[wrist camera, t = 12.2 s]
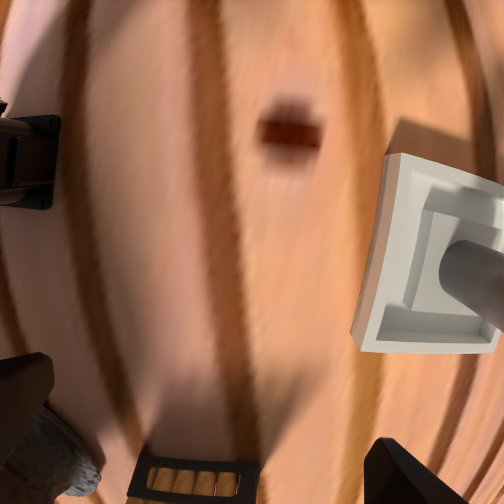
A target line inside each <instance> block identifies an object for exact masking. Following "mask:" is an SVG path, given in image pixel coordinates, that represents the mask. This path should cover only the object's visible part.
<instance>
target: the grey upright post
mask: <svg viewBox="0 0 504 504" xmlns="http://www.w3.org/2000/svg"><path fill="white" fill-rule="evenodd" d="M501 231H502V229H498V228H495V227H491V226H487V225H484V224H480V223H476V222H473V221H469V220H465V219H461V218H457V217H453V216H449V215H445V214H441V213H437V212H433V211H428V210H423V209H422V213H421V219H420V225H419V230H418V235H417V240H416V245H415V250H414V255H413V259H412V264H411V268H410V272H409V276H408V280H407V284H406V288H405V292H404V296H403V300H402V303H403V304H404V305H406V306H407V307H408V308H409V309H410V310H411V311H420V312H432V313H445V314H459V315H473V316H481V317H482V318H484V319H485V320H486V321H488V322H489V323H491V324H492V325H494V326H495V327H496V328H498V329H499V330H500V331H502V332H503V333H504V253H502V252H499V251H498V247H499V242H500V237H501Z"/></svg>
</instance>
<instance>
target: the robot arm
mask: <svg viewBox="0 0 504 504" xmlns="http://www.w3.org/2000/svg"><path fill="white" fill-rule="evenodd" d="M0 98H1V97H0ZM7 104H8V103H6V102H4V101H2V100H0V205H1V206H10V207H19V208H28V209H37V210H48V209H50V208H51V206H52V200H53V185H54V178H55V167H56V158H57V149H58V139H59V132H60V125H61V118H60V117H59V116H57V115H42V116H30V117H20V118H11V119H7V118H1V115H2V112H5V109H6V107H7ZM54 120H55V123H54V125H53V121H54ZM45 200H46V206H45V204H44V201H45ZM54 382H55V379H54V371H53V362H52V359H51V357H49V356H48V355H45V354H43V353H41V352H36V353H31V354H26V355H22V356H17V357H12V358H8V359H3V360H0V469H1V467H2V466H3V464H4V463H5V461H6V460H7V459H8V457H9V456H10V454H11V453H12V451H13V450H14V449H15V447H16V446H17V444H18V443H19V441H20V440H21V439H22V437H23V436H24V434H25V433H26V432H27V430H28V429H29V427H30V426H31V425H32V423H33V421H34V420H35V418H36V416H37V414H38V413H39V411H40V409H41V407H42V406H43V404H44V402H45V400H46V399H47V397H48V395H49V394H50V392H51V390H52V388H53V386H54ZM364 504H469V503H468V502H467V501H465V500H464V499H463V498H462V497H461V496H459V495H458V494H457V493H456V492H455V491H453V490H452V489H451V488H450V487H449V486H447V485H446V484H445V483H444V482H443V481H441V480H440V479H439V478H438V477H437V476H436V475H434V474H433V473H432V472H431V471H430V470H429V469H427V468H426V467H425V466H424V465H423V464H422V463H420V462H419V461H418V460H417V459H416V458H415V457H413V456H412V455H411V454H410V453H409V452H408V451H407V450H405V449H404V448H403V447H402V446H401V445H400V444H399V443H398V442H396V441H395V440H394V439H393V438H384V437H380V438H378V439H377V440H376V441H375V442H374V444H373V446H372V447H371V449H370V451H369V452H368V454H367V455H366V457H365V460H364Z"/></svg>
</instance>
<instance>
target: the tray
mask: <svg viewBox="0 0 504 504" xmlns="http://www.w3.org/2000/svg"><path fill="white" fill-rule="evenodd" d="M422 209H423V210H428V211H433V212H437V213H441V214H445V215H449V216H453V217H457V218H461V219H465V220H469V221H473V222H476V223H480V224H484V225H487V226H491V227H495V228H498V229H502V231H501V237H500V242H499V247H498V251H499V252H502V253H504V186H503V185H501V184H498V183H495V182H493V181H490V180H487V179H485V178H482V177H479V176H476V175H473V174H470V173H468V172H465V171H462V170H459V169H456V168H453V167H449V166H446V165H443V164H440V163H437V162H433V161H430V160H427V159H423V158H420V157H416V156H413V155H409V154H406V153H402V152H401V153H395V154H389V155H385V158H384V166H383V173H382V180H381V187H380V194H379V200H378V207H377V213H376V218H375V224H374V230H373V235H372V240H371V245H370V250H369V255H368V260H367V265H366V270H365V274H364V279H363V283H362V287H361V292H360V296H359V300H358V304H357V308H356V312H355V316H354V320H353V324H352V328H351V331H350V334H351V336H352V338H353V339H354V341H355V343H356V345H357V347H358V348H359V350H360V351H363V352H383V353H412V354H475V353H494V350H495V348H496V345H497V343H498V340H499V337H500V335H501V332H502V331H500V330H499V329H498V328H496V327H495V326H494V325H492V324H491V323H489V322H488V321H486V320H485V319H484V318H482V317H481V316H473V315H459V314H445V313H432V312H420V311H411V310H410V309H409V308H408V307H407V306H406V305H404V304H403V303H402V300H403V296H404V292H405V288H406V284H407V280H408V276H409V272H410V268H411V264H412V259H413V255H414V250H415V245H416V240H417V235H418V230H419V225H420V219H421V213H422Z"/></svg>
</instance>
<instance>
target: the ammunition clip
mask: <svg viewBox="0 0 504 504" xmlns="http://www.w3.org/2000/svg"><path fill="white" fill-rule="evenodd" d="M259 476H260V472H259V463H257V462H218V461H198V460H185V459H174V458H164V457H156V456H148V455H141V454H140V455H139V458H138V461H137V464H136V467H135V470H134V473H133V476H132V479H131V482H130V485H129V488H128V492H127V497H128V499H127V501H126V504H258V489H259ZM195 483H196V484H195ZM216 483H217V484H216ZM215 486H216V492H215ZM173 487H174V488H173ZM194 488H195V489H194ZM236 488H237V494H236ZM172 491H173V492H172ZM193 493H194V494H193ZM214 493H215V496H214Z"/></svg>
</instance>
